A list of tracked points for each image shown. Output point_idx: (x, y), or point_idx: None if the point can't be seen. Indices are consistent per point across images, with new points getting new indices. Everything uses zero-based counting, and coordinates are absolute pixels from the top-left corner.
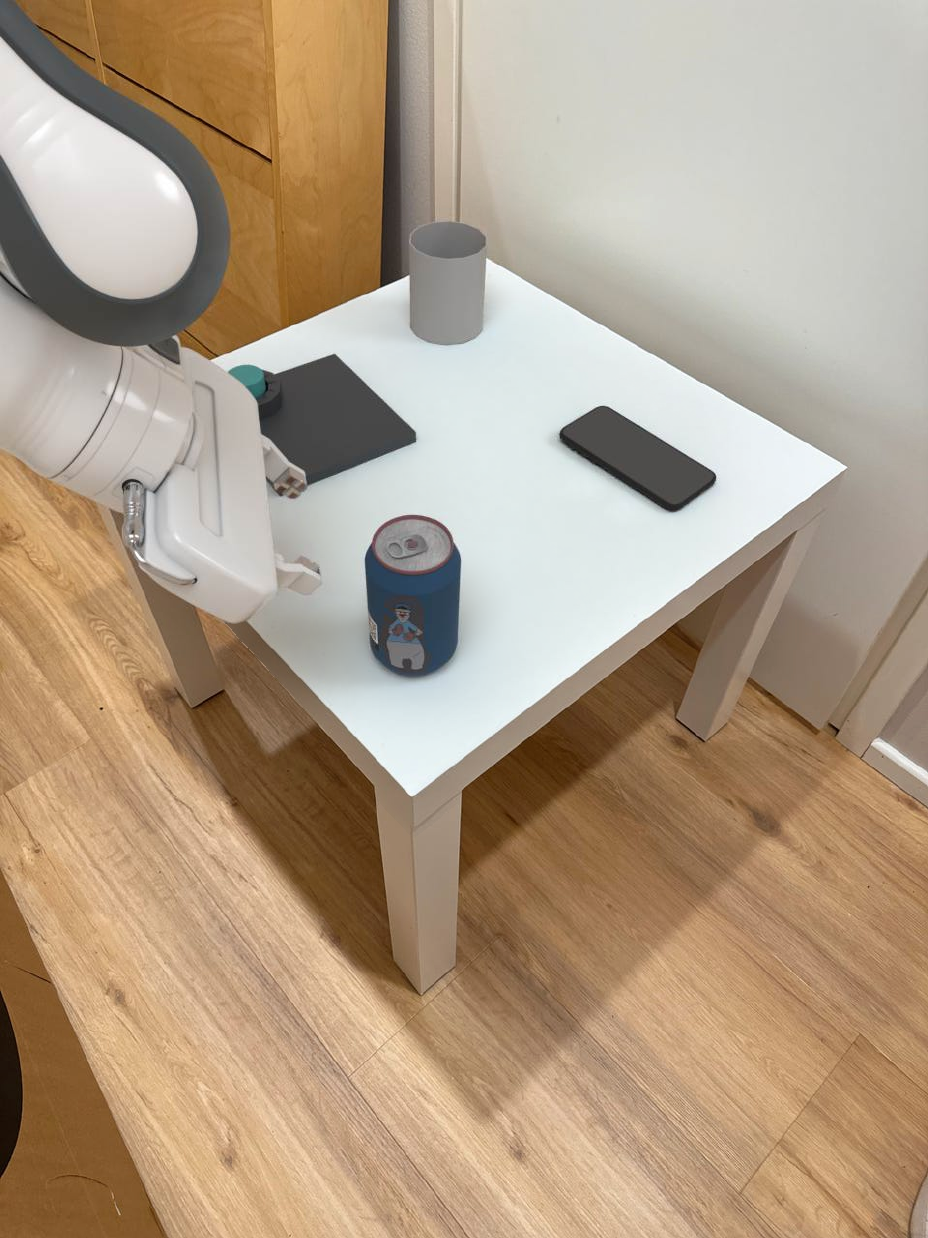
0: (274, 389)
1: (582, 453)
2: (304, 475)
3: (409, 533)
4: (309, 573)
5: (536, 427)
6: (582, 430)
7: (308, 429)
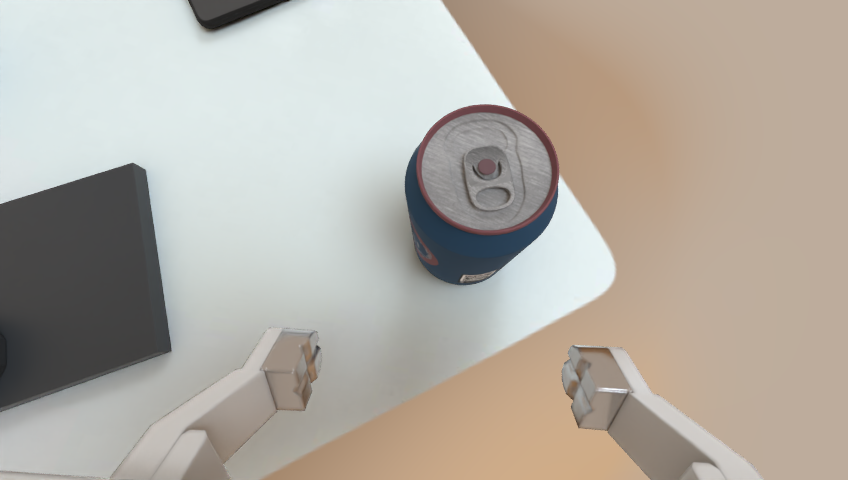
0: None
1: (241, 15)
2: (283, 331)
3: (452, 168)
4: (642, 377)
5: (180, 47)
6: (209, 2)
7: (62, 293)
